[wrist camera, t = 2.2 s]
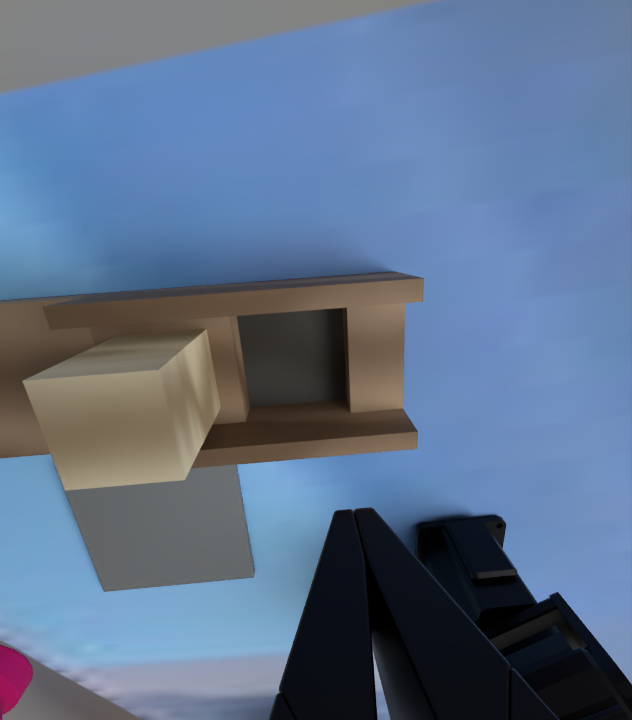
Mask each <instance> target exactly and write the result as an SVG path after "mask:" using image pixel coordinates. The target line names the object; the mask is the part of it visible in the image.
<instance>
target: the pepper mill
mask: <svg viewBox="0 0 632 720" xmlns="http://www.w3.org/2000/svg"><path fill="white" fill-rule="evenodd" d="M32 676H33V669H32V666H31V664H30V662H29V661H28V660H27V658H26V657H25V656H23V655H22V654H20V653H19V652H17V651H16V650H14V649H11V648H8V647H5V646H2V645H0V720H2V715H3V714H5V713H7V712H8V711H10V710H11V709H13V708H14V707H15V705H16V704H17V703H18V701H19V699H20V698H21V696H22V694H23V693H24V691H25V690H26V688H27V686H28V685H29V683H30V681H31V680H32Z"/></svg>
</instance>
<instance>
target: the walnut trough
mask: <svg viewBox="0 0 632 720" xmlns="http://www.w3.org/2000/svg"><path fill="white" fill-rule="evenodd" d="M423 284H424V278H420V277H416V276H412V275H407V274H403V273H399V272H382V273H368V274H355V275H341V276H328V277H314V278H300V279H287V280H273V281H260V282H246V283H232V284H219V285H205V286H192V287H178V288H165V289H151V290H137V291H124V292H110V293H97V294H83V295H69V296H56V297H42V298H29V299H15V300H2V301H0V458H9V457H21V456H33V455H44V454H51V453H50V450H49V448H48V445H47V443H46V440H45V438H44V435H43V432H42V430H41V427H40V425H39V422H38V420H37V417H36V414H35V412H34V409H33V407H32V404H31V402H30V399H29V396H28V394H27V391H26V389H25V386H24V384H23V380H25V379H27V378H29V377H32V376H34V375H36V374H38V373H40V372H42V371H44V370H46V369H48V368H51V367H53V366H55V365H57V364H59V363H61V362H63V361H65V360H67V359H70V358H72V357H74V356H76V355H78V354H80V353H82V352H84V351H86V350H89V349H91V348H93V347H95V346H97V345H99V344H101V343H103V342H105V341H108V340H110V339H112V338H114V337H116V336H122V335H135V334H148V333H161V332H174V331H187V330H200V329H206V330H207V335H208V341H209V346H210V352H211V357H212V363H213V368H214V374H215V379H216V385H217V390H218V396H219V401H220V407H221V408H220V410H219V412H218V414H217V416H216V418H215V420H214V422H213V424H212V426H211V428H210V430H209V432H208V434H207V436H206V438H205V440H204V442H203V444H202V446H201V448H200V450H199V453H198V455H197V457H196V459H195V461H194V463H193V465H192V467H191V468H202V467H214V466H225V465H237V464H248V463H259V462H271V461H282V460H294V459H305V458H317V457H328V456H340V455H351V454H363V453H374V452H386V451H397V450H409V449H417V440H418V431H417V430H416V428H415V427H414V425H413V424H412V422H411V420H410V419H409V417H408V416H407V414H406V413H405V411H404V410H403V375H404V327H405V303H413V302H423Z"/></svg>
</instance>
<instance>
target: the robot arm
mask: <svg viewBox="0 0 632 720" xmlns="http://www.w3.org/2000/svg"><path fill="white" fill-rule="evenodd" d="M505 529H506V523H505V521H504V520H503V519H502V517H499V516H495V517H484V518H474V519H463V520H452V521H441V522H431V523H422V524H419V525H418V526H417V528H416V545H415V555H414V554H413V553H412V552H411V551H410V550H409V549H408V547H407V546H406V545H405V544H404V543H403V542H402V541H401V539H400V538H399V537H398V536H397V535H396V534H395V533H394V531H393V530H392V529H391V528H390V527H389V526H388V525H387V524H386V522H385V521H384V520H383V519H382V518H381V517H380V516H379V514H378V513H377V512H376V511H375V510H374V509H373V508H359V509H355V510H354V512H353V510H351V509H348V510H337V511H335V512H334V514H333V517H332V521H331V524H330V527H329V530H328V533H327V536H326V540H325V543H324V546H323V549H322V552H321V556H320V559H319V562H318V565H317V568H316V571H315V575H314V578H313V581H312V584H311V587H310V591H309V594H308V597H307V600H306V603H305V606H304V610H303V613H302V616H301V619H300V622H299V626H298V629H297V632H296V635H295V638H294V641H293V645H292V648H291V651H290V654H289V657H288V661H287V664H286V667H285V670H284V673H283V676H282V680H281V683H280V686H279V692H280V693H278V694H277V695H276V698H275V701H274V704H273V707H272V710H271V714H270V717H269V720H377V707H376V693H375V678H374V664H373V652H374V656H375V660H376V664H377V668H378V672H379V676H380V679H381V683H382V687H383V691H384V695H385V699H386V703H387V707H388V711H389V715H390V719H391V720H632V684H631V683H630V682H629V680H628V679H627V678H626V676H625V675H624V674H623V672H622V671H621V670H620V669H619V667H618V666H617V665H616V663H615V662H614V661H613V660H612V658H611V657H610V656H609V655H608V653H607V652H606V651H605V650H604V648H603V647H602V646H601V645H600V643H599V642H598V641H597V640H596V639H595V637H594V636H593V635H592V634H591V632H590V631H589V630H588V629H587V627H586V626H585V625H584V624H583V622H582V621H581V620H580V619H579V617H578V616H577V615H576V614H575V613H574V611H573V610H572V609H571V608H570V606H569V605H568V604H567V603H566V601H565V600H564V599H563V598H562V596H561V595H560V594H559V593H558V592H556V593H554V594H551V595H549V597H550V598H548V599H546V600H543V601H541V602H539V603H537V601H536V600H535V598H534V597H533V595H532V594H531V592H530V591H529V589H528V588H527V587H526V585H525V584H524V582H523V581H522V579H521V578H520V576H519V575H518V573H517V570H516V568H515V567H514V565H513V564H512V563H511V561H510V560H509V558H508V557H507V555H506V554H505V552H504V551H503V549H502V548H503V542H504V536H505ZM424 530H425V531H424ZM372 648H373V650H372Z"/></svg>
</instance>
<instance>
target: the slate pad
mask: <svg viewBox="0 0 632 720" xmlns="http://www.w3.org/2000/svg"><path fill="white" fill-rule="evenodd" d="M55 468H56V466H55ZM56 470H57V468H56ZM57 473H58V471H57ZM58 475H59V474H58ZM59 478H60V476H59ZM60 480H61V479H60ZM61 483H62V481H61ZM62 486H63V484H62ZM63 488H64V486H63ZM64 491H65V489H64ZM65 493H66V496H67V498H68V501H69V503H70V506H71V509H72V511H73V514H74V516H75V519H76V521H77V524H78V527H79V529H80V532H81V534H82V537H83V539H84V542H85V545H86V547H87V550H88V552H89V555H90V557H91V560H92V563H93V565H94V568H95V570H96V573H97V575H98V578H99V581H100V583H101V586H102V588H103V591H104V592H107V591H117V590H128V589H138V588H149V587H159V586H169V585H180V584H190V583H201V582H211V581H222V580H232V579H243V578H253V577H254V572H255V568H254V562H253V557H252V551H251V545H250V539H249V534H248V528H247V522H246V517H245V511H244V505H243V499H242V494H241V488H240V482H239V476H238V471H237V465H225V466H214V467H202V468H191V469H190V471H189V473H188V475H187V477H186V479H185V480H180V481H169V482H157V483H146V484H135V485H123V486H112V487H101V488H89V489H78V490H67V491H65Z"/></svg>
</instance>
